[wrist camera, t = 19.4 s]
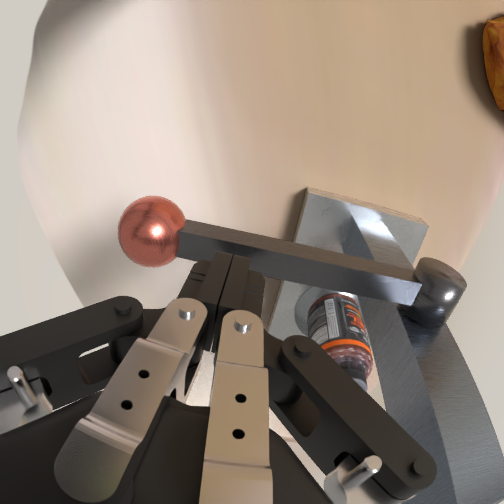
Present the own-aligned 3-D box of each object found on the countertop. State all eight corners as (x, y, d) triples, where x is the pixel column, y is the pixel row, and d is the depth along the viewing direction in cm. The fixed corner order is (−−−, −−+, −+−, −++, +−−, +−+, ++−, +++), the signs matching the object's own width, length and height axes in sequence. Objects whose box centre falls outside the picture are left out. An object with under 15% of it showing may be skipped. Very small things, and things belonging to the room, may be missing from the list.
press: (268, 326, 38) (240, 560, 13) (307, 186, 29) (356, 531, 5) (363, 342, 38) (395, 553, 13) (421, 218, 29) (576, 454, 5)
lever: (135, 240, 18) (106, 271, 14) (137, 182, 16) (104, 204, 13) (430, 302, 18) (449, 339, 14) (454, 255, 16) (481, 288, 13)
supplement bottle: (369, 312, 33) (391, 390, 23) (329, 339, 35) (337, 419, 25) (337, 280, 31) (354, 361, 21) (295, 312, 34) (295, 394, 24)
